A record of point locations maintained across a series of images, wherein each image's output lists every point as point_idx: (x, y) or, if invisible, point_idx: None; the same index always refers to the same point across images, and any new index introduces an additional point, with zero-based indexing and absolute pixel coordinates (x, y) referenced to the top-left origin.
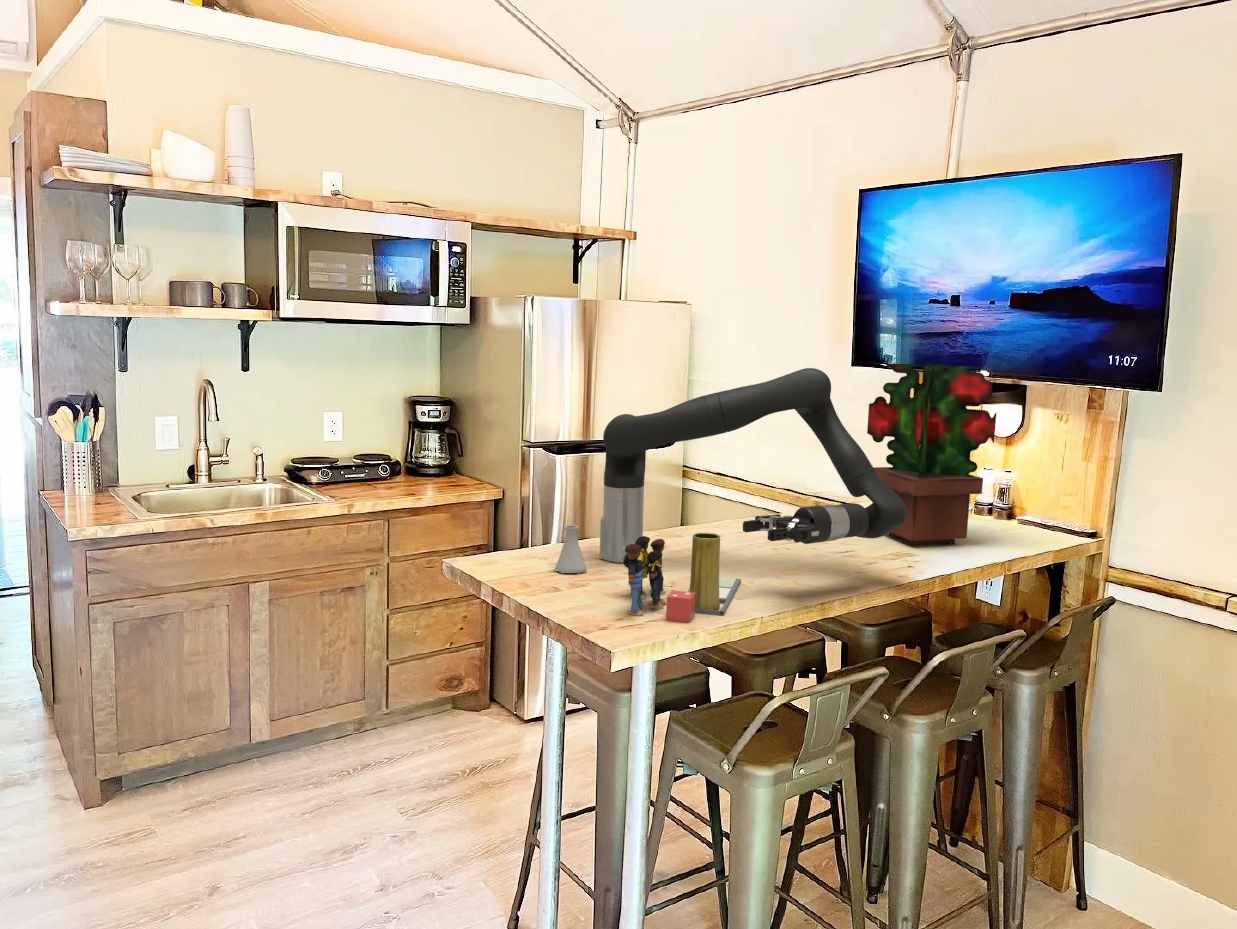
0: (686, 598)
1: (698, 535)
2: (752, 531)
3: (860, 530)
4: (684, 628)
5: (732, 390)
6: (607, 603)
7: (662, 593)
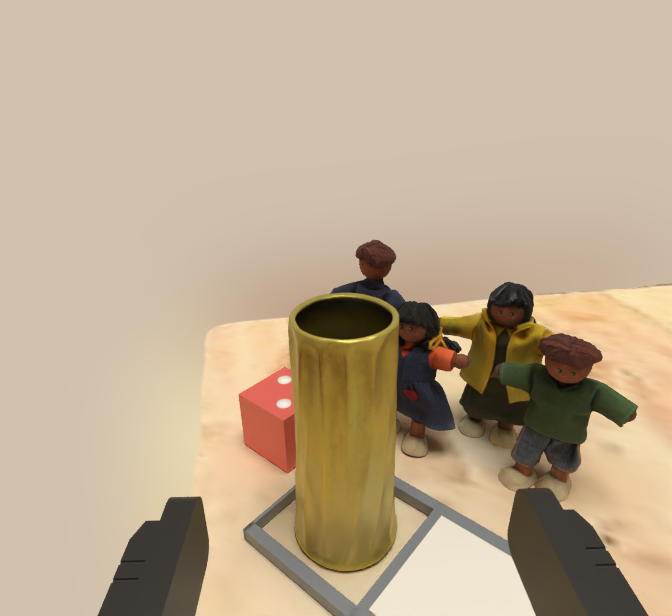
0: (248, 389)
1: (392, 318)
2: (537, 614)
3: None
4: (220, 423)
5: None
6: (442, 373)
7: (501, 477)
